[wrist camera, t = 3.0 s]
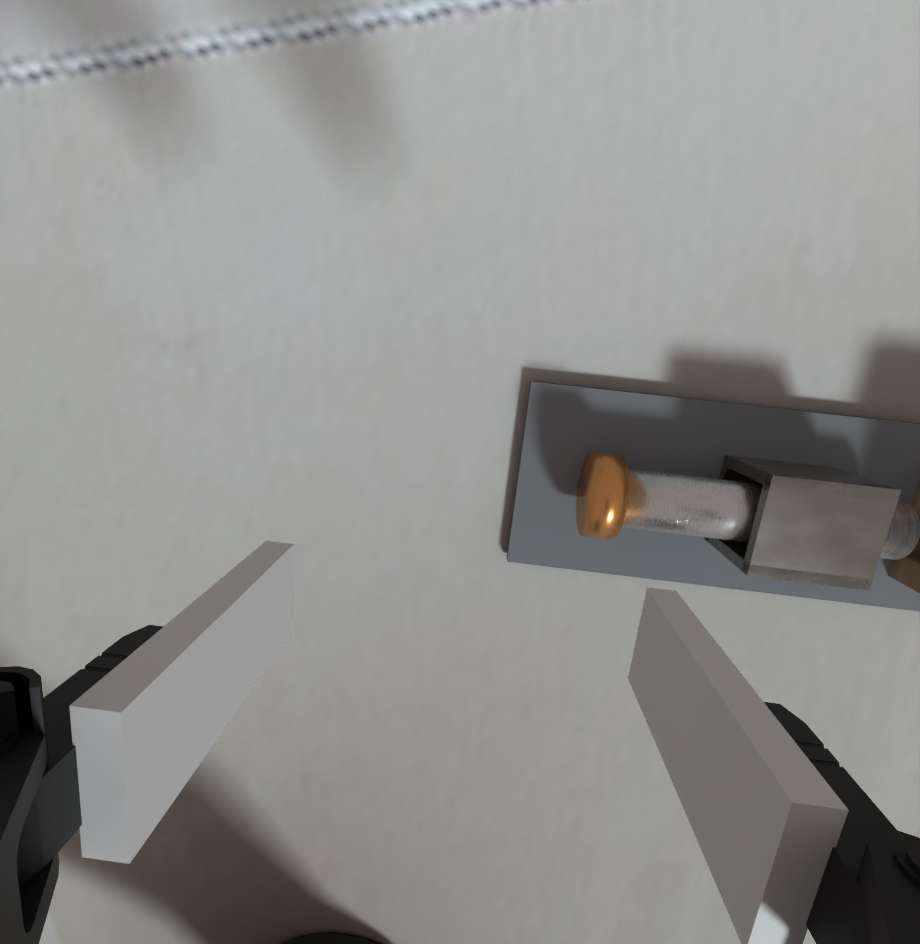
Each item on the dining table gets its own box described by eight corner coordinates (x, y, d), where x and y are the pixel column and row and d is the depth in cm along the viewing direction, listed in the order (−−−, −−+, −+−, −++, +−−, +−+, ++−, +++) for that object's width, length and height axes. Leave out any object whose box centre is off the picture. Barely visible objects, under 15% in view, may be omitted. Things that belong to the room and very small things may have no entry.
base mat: (506, 557, 32) (506, 561, 31) (530, 381, 29) (531, 381, 29) (945, 610, 31) (954, 615, 30) (1009, 433, 29) (1020, 435, 28)
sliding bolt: (572, 520, 30) (586, 548, 26) (584, 444, 29) (602, 460, 25) (851, 553, 30) (915, 588, 25) (874, 477, 29) (945, 500, 24)
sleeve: (705, 539, 30) (746, 575, 25) (724, 454, 29) (772, 475, 24) (806, 551, 30) (869, 590, 25) (830, 466, 29) (901, 490, 24)
